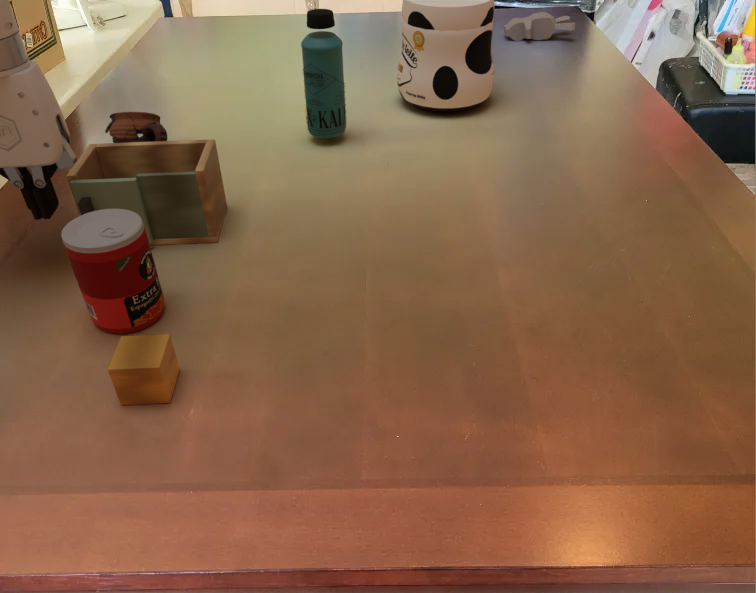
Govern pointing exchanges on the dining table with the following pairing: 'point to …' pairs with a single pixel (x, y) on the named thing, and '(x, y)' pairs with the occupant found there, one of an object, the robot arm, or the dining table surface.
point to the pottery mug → (136, 127)
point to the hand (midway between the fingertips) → (46, 213)
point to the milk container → (446, 53)
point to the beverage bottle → (323, 77)
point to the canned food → (114, 269)
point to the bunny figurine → (536, 26)
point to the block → (144, 369)
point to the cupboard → (165, 184)
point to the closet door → (110, 197)
